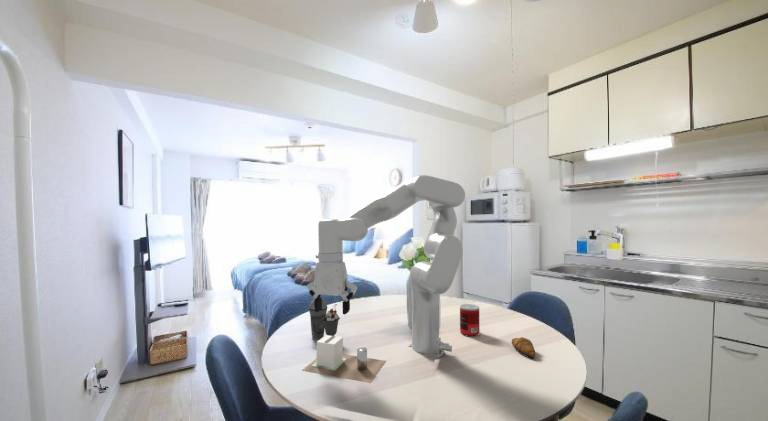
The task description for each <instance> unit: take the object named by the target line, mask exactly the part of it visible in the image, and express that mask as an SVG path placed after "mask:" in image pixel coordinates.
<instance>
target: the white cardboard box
mask: <svg viewBox="0 0 768 421" xmlns="http://www.w3.org/2000/svg"><path fill="white" fill-rule="evenodd" d="M343 346H344V337H342V336H336V335H334V336H329V335H326V334H325V335H324V337H323V338H321V339H318V340H317V341H316V355H315V356H316V358H315V359H316V365H319V366H325V367H331V368H334V367H335V366H336V365H337V364H339V363H340V362H341V361H342V360H343V354H344V352H343V351H344V347H343Z"/></svg>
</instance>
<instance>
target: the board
mask: <svg viewBox="0 0 768 421" xmlns="http://www.w3.org/2000/svg"><path fill="white" fill-rule="evenodd" d="M386 362H387V360H384V359H377V358H370V357H367V369H366V370H362V371H361V370H358V369H357V355H351V354H350V355H349V354H345V353H343V360H342V361H341V362H340V363H339V364H337V365H336V366H335V367H334V368H331V367H325V366H319V365H316V358H315V359H314V360H312V361H311V362H310V363H309V364H308V365H307V366H305V367H304V368H303V369H302V370H301V371H302V372H308V373H314V374H320V375H325V376H331V377H336V378H342V379H347V380H353V381H359V382H364V383H369V384H371V383H372V382H373V381H374V380H375V378H376V376H377V375H378V374H379V373H380V371H381V370H382V368H383V366H384V365H386Z"/></svg>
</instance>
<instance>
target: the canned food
mask: <svg viewBox="0 0 768 421" xmlns="http://www.w3.org/2000/svg"><path fill="white" fill-rule="evenodd" d="M459 331H460V332H459V333H460V334H461V333H462V334H463V336H465V335H467V336H466V337H470V336H474V337H477V336H476V335H478V334H479V335H480V307H479V305H476V304H472V303H471V304H470V303H465V304H460V305H459ZM462 334H461V335H462ZM479 335H478V336H479Z"/></svg>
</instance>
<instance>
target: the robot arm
mask: <svg viewBox="0 0 768 421" xmlns="http://www.w3.org/2000/svg"><path fill="white" fill-rule="evenodd" d="M465 200H466V191H465V189H464V187H463V186H462V185H461V184H460V183H458V182H454V181H451V180H446V179H444V178H438V177H435V176H432V175H427V174H426V175H424V174H422V175H417V176H414V177H411V178H408V179H407V180H405V181H404V182H402V183H401V184H399V185H397V186H395V187H394V188H393V189H391V190H389V191H387V192H386V193H384V194H383V195H381V196H380V197H378V198H376V199H375V200H373V201H372V202H370V203H369V204H367V205H365V206H364V207H361V208H360V209H358V210H357V211H355V212H354V213H352V214H351V215H348V216H347V217H346V218H344V219H339V218H338V219H336V218H331V219H330V218H328V219H321V220H319V221H318V231H317V232H318V253H316V254H315V259H317V260H318V262H316V265H315V270H314V275H313V277H314V278H313V279H314V280H313V281H312V282H309V283H308V284H307V285H306V287H307V290H308V291H309V292H308V293H309V294H310V296H311V298H312V300H313V299H314V307H315V312H319V311H320V310H322V297H321V296H333V297H334V296H335V297H338V296H340V297H341V298H342V299H343V301H342V315H347V314H348V313H349V312H350V310H351V302H350V301H351V299H352V298H353V297H354V296H355V295H356V292H357V290H358V286H357V285H356V284H354V283H352V282H351V281H350V280H349V278H348V272H347V271H348V270H347V266H346V263H345V261H344V255H343V253H344V252H343V251H344V250H343V247H344V246H343V241H344V242H345V241H347V242H348V241H349V242H359V241H362V240H364V239H365V238H366V237H367V234H368V232H369V229H370V228H371V227H374V226H375V225H377V224H380V223H383V222H386V221H389V220H392V219H394V218H395V217H398V216H399V215H400V214H402V213H403V212H405V211H406V210H407V209H409V208H411V207H413V205H416V203H418V202H421V201H422V202H423V201H428V203H429V206H431V209H432V212H433V222H432V224H431V227H430V228H429V229H430V230H429V231H428V234H427V237H426V239H425V242H424V245H423V252H424V255H425V256H426V257H427V258H428V259H431V260H432V261H430V262H429V261H418V262H416V263H414V265H412V267H411V269H410V272H409V282H410V288H411V289H410V290H411V344H409V345H408V346H407V347H409V348H411V349H412V350H413V351H414V352H417V353H419V354H424V355H425V354H426V355H429V354H431V355H432V354H435V353H436V354H435V358H434V360H436V359H439V358H442V357H443V355H444V351H446V352H451V353H452V352H453V345H450V343H449V342H443V341H442V338H441V337H440V300H439V295H443V294H445V293H447V292H448V291H449V289H450V288H451V286H452V284H453V281H454V279H455V276H456V274H457V270H458V269H459V266H460V264H461V260H462V256H463V245H462V242H461V240H460V239H459V238H458V237H457V236H455V231H456V230H457V224H458V219H457V214H456V210H455V209H454V208H457V207H459V206H461V205H462V204H463V203H464V201H465ZM349 289H350V292H348V291H349Z"/></svg>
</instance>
